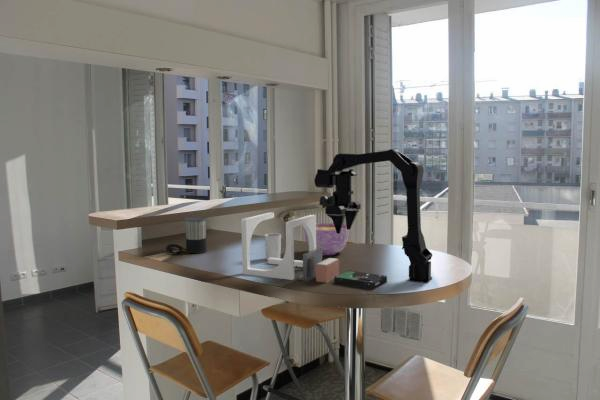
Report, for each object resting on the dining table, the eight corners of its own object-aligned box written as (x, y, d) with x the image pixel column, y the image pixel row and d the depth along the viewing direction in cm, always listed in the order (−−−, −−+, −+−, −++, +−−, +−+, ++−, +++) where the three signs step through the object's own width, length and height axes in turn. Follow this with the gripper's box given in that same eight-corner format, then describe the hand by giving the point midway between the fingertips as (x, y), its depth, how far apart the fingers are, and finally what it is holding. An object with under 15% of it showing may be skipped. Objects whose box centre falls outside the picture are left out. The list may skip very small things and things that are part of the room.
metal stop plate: (322, 273, 183) (322, 248, 182) (307, 280, 173) (306, 254, 172) (313, 271, 185) (313, 247, 184) (297, 279, 174) (297, 253, 173)
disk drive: (387, 284, 170) (348, 277, 178) (387, 275, 170) (348, 269, 178) (373, 291, 162) (333, 284, 170) (373, 282, 161) (333, 276, 169)
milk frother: (211, 251, 223) (210, 218, 222) (182, 257, 211) (180, 222, 210) (191, 247, 232) (189, 215, 231) (161, 253, 220) (160, 219, 219)
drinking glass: (275, 256, 212) (274, 232, 210) (284, 259, 206) (284, 234, 205) (261, 258, 207) (261, 234, 206) (271, 261, 202) (270, 236, 201)
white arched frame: (242, 274, 183) (241, 219, 181) (270, 262, 201) (269, 212, 199) (291, 280, 174) (290, 222, 172) (316, 267, 192) (315, 214, 190)
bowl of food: (359, 252, 217) (359, 225, 216) (330, 260, 202) (330, 232, 201) (323, 246, 230) (323, 221, 229) (293, 254, 216) (293, 227, 214)
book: (339, 276, 179) (339, 258, 178) (326, 283, 170) (326, 264, 170) (328, 274, 181) (328, 257, 180) (316, 281, 172) (316, 263, 171)
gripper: (333, 185, 194) (334, 226, 196) (311, 189, 178) (311, 233, 180) (361, 186, 189) (361, 228, 191) (340, 190, 173) (340, 236, 174)
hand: (343, 231), depth 184 cm, fingers open, 9 cm apart
